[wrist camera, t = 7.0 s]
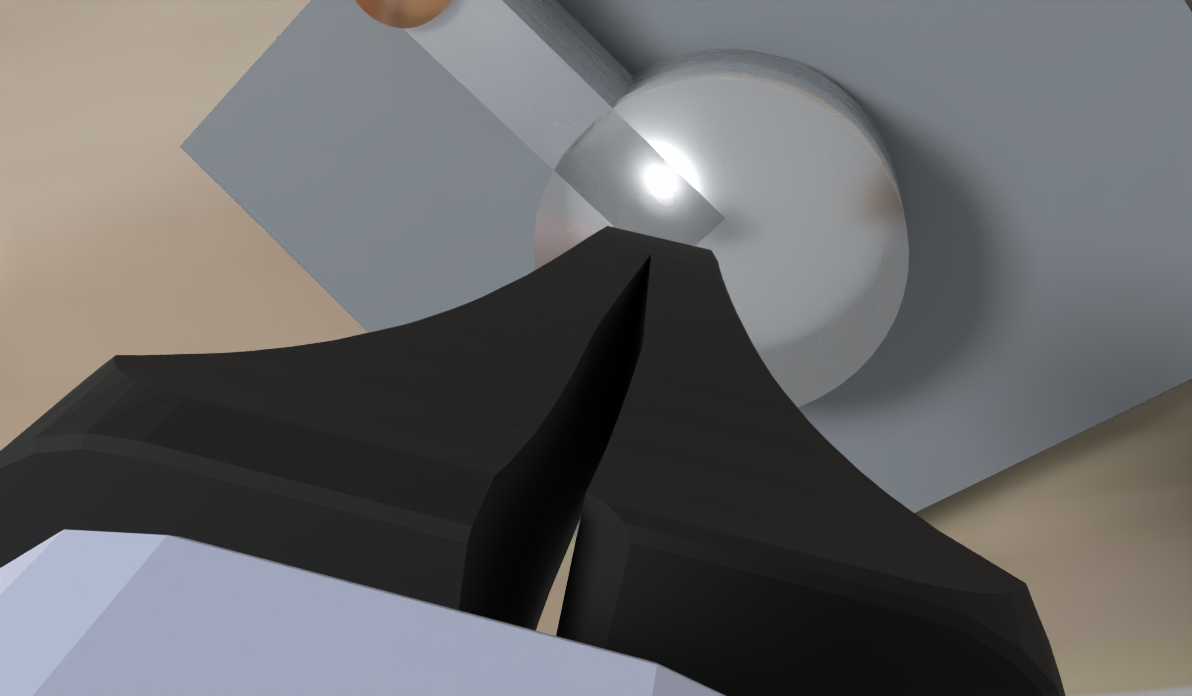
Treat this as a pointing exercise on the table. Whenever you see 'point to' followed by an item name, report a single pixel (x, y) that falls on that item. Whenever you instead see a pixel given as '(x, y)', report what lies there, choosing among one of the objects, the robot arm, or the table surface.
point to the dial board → (922, 164)
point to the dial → (697, 170)
